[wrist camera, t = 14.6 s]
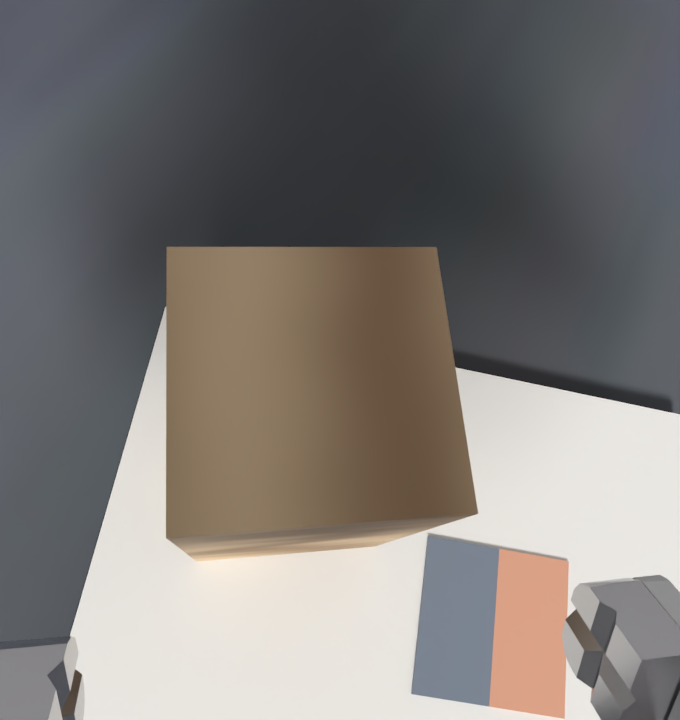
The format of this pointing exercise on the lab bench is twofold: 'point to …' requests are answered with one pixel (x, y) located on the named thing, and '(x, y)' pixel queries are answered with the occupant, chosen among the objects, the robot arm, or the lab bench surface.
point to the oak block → (309, 400)
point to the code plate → (387, 579)
